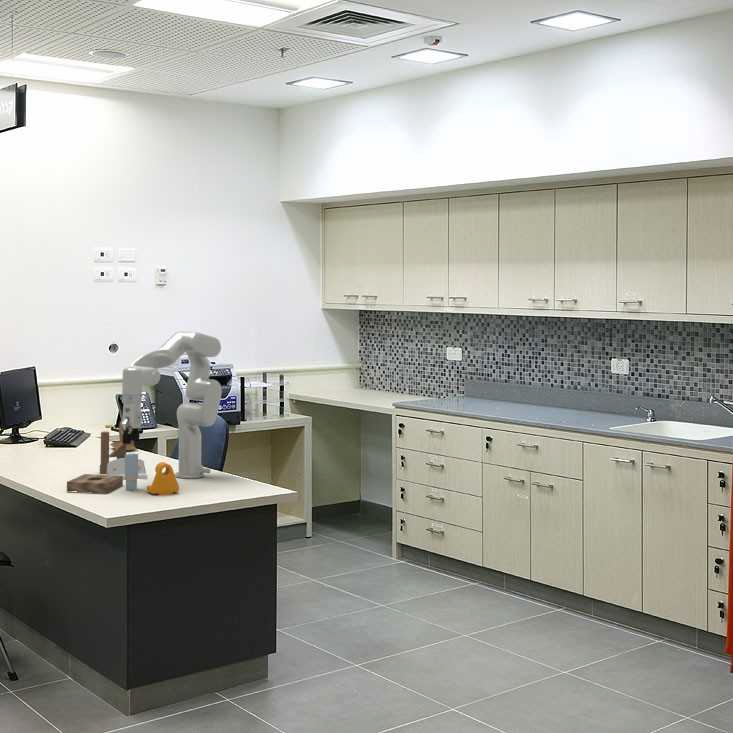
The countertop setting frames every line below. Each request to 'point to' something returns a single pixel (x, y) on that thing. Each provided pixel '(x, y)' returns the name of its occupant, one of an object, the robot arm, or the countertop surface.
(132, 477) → the peg
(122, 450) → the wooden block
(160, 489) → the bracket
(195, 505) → the countertop surface
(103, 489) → the board
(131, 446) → the brown flared piece
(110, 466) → the hinge
